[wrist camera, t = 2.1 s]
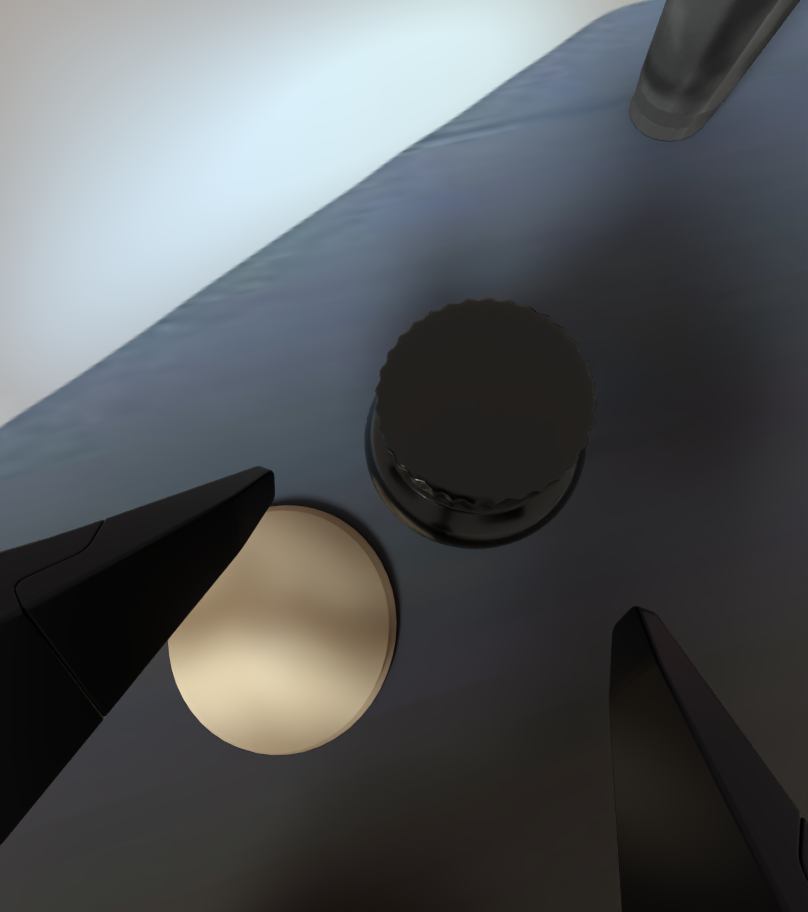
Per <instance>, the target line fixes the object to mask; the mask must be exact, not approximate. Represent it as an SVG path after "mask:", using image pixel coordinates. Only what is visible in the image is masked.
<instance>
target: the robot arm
mask: <svg viewBox="0 0 808 912" xmlns="http://www.w3.org/2000/svg"><path fill="white" fill-rule="evenodd" d="M274 496H275V482H274V473H273V471H271V470H269V469H266V468H264V467H261V466H256V467H253V468H250V469H247V470H244V471H241V472H239V473H236V474H233V475H230V476H227V477H224V478H221V479H218V480H216V481H213V482H210V483H207V484H204V485H201V486H198V487H195V488H192V489H190V490H187V491H184V492H181V493H178V494H175V495H172V496H169V497H167V498H164V499H161V500H158V501H155V502H152V503H149V504H146V505H144V506H141V507H138V508H135V509H132V510H129V511H126V512H123V513H120V514H118V515H115V516H112V517H109V518H106V519H105V521H104V520H100V521H97V522H94V523H91V524H88V525H86V526H83V527H80V528H77V529H74V530H71V531H68V532H65V533H61V534H58V535H55V536H52V537H49V538H46V539H42V540H39V541H36V542H32V543H29V544H25V545H22V546H19V547H15V548H12V549H8V550H5V551H1V552H0V845H1V844H2V843H3V842H4V840H5V839H6V838H7V837H8V836H9V835H10V833H11V832H12V831H13V830H14V828H15V827H16V826H17V825H18V824H19V822H20V821H21V820H22V819H23V817H24V816H25V815H26V814H27V812H28V811H29V810H30V809H31V808H32V806H33V805H34V804H35V803H36V801H37V800H38V799H39V798H40V797H41V795H42V794H43V793H44V792H45V790H46V789H47V788H48V787H49V786H50V784H51V783H52V782H53V781H54V779H55V778H56V777H57V776H58V775H59V773H60V772H61V771H62V770H63V768H64V767H65V766H66V765H67V763H68V762H69V761H70V760H71V759H72V757H73V756H74V755H75V754H76V752H77V751H78V750H79V749H80V748H81V746H82V745H83V744H84V743H85V741H86V740H87V739H88V738H89V737H90V735H91V734H92V733H93V732H94V730H95V729H96V728H97V727H98V726H99V724H100V723H101V722H102V721H103V719H104V716H106V715H107V714H108V713H109V712H110V710H111V709H112V708H113V707H114V706H115V704H116V703H117V702H118V701H119V699H120V698H121V697H122V696H123V694H124V693H125V692H126V691H127V690H128V688H129V687H130V686H131V685H132V683H133V682H134V681H135V680H136V679H137V677H138V676H139V675H140V674H141V672H142V671H143V670H144V669H145V668H146V666H147V665H148V664H149V663H150V661H151V660H152V659H153V658H154V657H155V655H156V654H157V653H158V652H159V650H160V649H161V648H162V647H163V645H164V644H165V643H166V642H167V641H168V639H169V638H170V637H171V636H172V634H173V633H174V632H175V631H176V630H177V628H178V627H179V626H180V625H181V623H182V622H183V621H184V620H185V619H186V617H187V616H188V615H189V614H190V612H191V611H192V610H193V609H194V607H195V606H196V605H197V604H198V603H199V601H200V600H201V599H202V598H203V596H204V595H205V594H206V593H207V592H208V590H209V589H210V588H211V587H212V585H213V584H214V583H215V582H216V581H217V579H218V578H219V577H220V576H221V574H222V573H223V572H224V571H225V570H226V568H227V567H228V566H229V565H230V563H231V562H232V561H233V560H234V558H235V557H236V556H237V555H238V553H239V552H240V551H241V549H242V548H243V547H244V545H245V544H246V542H247V541H248V539H249V538H250V536H251V534H252V533H253V531H254V530H255V528H256V527H257V525H258V524H259V522H260V521H261V519H262V518H263V516H264V514H265V513H266V511H267V510H268V508H269V507H270V505H271V504H272V502H273V500H274ZM609 712H610V729H611V745H612V760H613V776H614V792H615V808H616V824H617V840H618V856H619V872H620V888H621V904H622V912H808V822H807V821H806V820H805V819H804V818H802V817H801V813H800V811H799V810H798V809H797V807H796V806H795V804H794V803H793V802H792V800H791V799H790V798H789V796H788V795H787V793H786V792H785V791H784V789H783V788H782V787H781V785H780V784H779V782H778V781H777V780H776V778H775V777H774V775H773V774H772V773H771V771H770V770H769V769H768V767H767V766H766V764H765V763H764V762H763V760H762V759H761V758H760V756H759V755H758V753H757V752H756V751H755V749H754V748H753V746H752V745H751V744H750V742H749V741H748V740H747V738H746V737H745V735H744V734H743V733H742V731H741V730H740V729H739V727H738V726H737V724H736V723H735V722H734V720H733V719H732V718H731V716H730V715H729V713H728V712H727V711H726V709H725V708H724V706H723V705H722V704H721V702H720V701H719V700H718V698H717V697H716V695H715V694H714V693H713V691H712V690H711V689H710V687H709V686H708V684H707V683H706V682H705V680H704V679H703V678H702V676H701V675H700V673H699V672H698V671H697V669H696V668H695V666H694V665H693V664H692V662H691V661H690V660H689V658H688V657H687V655H686V654H685V653H684V651H683V650H682V649H681V647H680V646H679V644H678V643H677V642H676V640H675V639H674V638H673V636H672V635H671V633H670V632H669V631H668V629H667V628H666V626H665V625H664V624H663V622H662V621H661V620H660V618H659V617H658V616H657V615H656V614H655V613H654V612H652V611H649V610H647V609H644V608H641V607H638V606H634V607H632V608H631V609H630V610H629V611H628V612H627V613H626V614H625V615H624V616H623V617H622V618H621V619H620V620H619V621H618V622H617V623H616V625H615V626H614V629H613V633H612V648H611V668H610V687H609Z"/></svg>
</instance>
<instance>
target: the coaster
mask: <svg viewBox="0 0 808 912" xmlns="http://www.w3.org/2000/svg"><path fill="white" fill-rule="evenodd" d="M396 626H397V620H396V606H395V601H394V595H393V590H392V587H391V584H390V581H389V578H388V575H387V573H386V571H385V569H384V566H383V564H382V562H381V561H380V559H379V557H378V556H377V554H376V553H375V551H374V549H373V548H372V547H371V546H370V545H369V543H368V542H367V541H366V540H365V539H364V537H362V536H361V535H360V534H359V533H358V532H357V531H356V530H355V529H354V528H352V527H351V526H350V525H348V524H347V523H345V522H344V521H342V520H341V519H339V518H337V517H335V516H333V515H331V514H329V513H326V512H323V511H320V510H317V509H313V508H308V507H303V506H291V505H283V506H272V507H269V508H268V510H267V511H266V513H265V514H264V516H263V518H262V519H261V521H260V522H259V524H258V525H257V527H256V528H255V530H254V531H253V533H252V534H251V536H250V538H249V539H248V541H247V542H246V544H245V545H244V547H243V548H242V549H241V551H240V552H239V553H238V555H237V556H236V557H235V558H234V560H233V561H232V562H231V563H230V565H229V566H228V567H227V568H226V570H225V571H224V572H223V573H222V574H221V576H220V577H219V578H218V579H217V581H216V582H215V583H214V584H213V585H212V587H211V588H210V589H209V590H208V592H207V593H206V594H205V595H204V596H203V598H202V599H201V600H200V601H199V603H198V604H197V605H196V606H195V607H194V609H193V610H192V611H191V612H190V614H189V615H188V616H187V617H186V619H185V620H184V621H183V622H182V623H181V625H180V626H179V627H178V628H177V630H176V631H175V632H174V633H173V634H172V636H171V637H170V638H169V639H168V644H169V656H170V661H171V667H172V671H173V674H174V677H175V680H176V684H177V686H178V688H179V690H180V692H181V695H182V697H183V699H184V700H185V702H186V703H187V705H188V707H189V708H190V710H191V711H192V713H193V714H194V715H195V716H196V717H197V718H198V720H199V721H200V722H201V723H202V724H203V725H204V726H205V727H206V728H208V729H209V730H210V731H211V732H212V733H213V734H215V735H216V736H218V737H219V738H221V739H222V740H224V741H226V742H228V743H230V744H232V745H234V746H236V747H239V748H242V749H245V750H249V751H252V752H256V753H262V754H270V755H285V754H294V753H299V752H304V751H307V750H310V749H313V748H316V747H319V746H321V745H323V744H325V743H327V742H329V741H331V740H333V739H335V738H336V737H337V736H339V735H340V734H342V733H343V732H344V731H346V730H347V729H348V728H349V727H351V726H352V725H353V724H354V723H355V722H356V721H357V720H358V719H359V718H360V717H361V716H362V715H363V713H364V712H365V711H366V710H367V708H368V707H369V706H370V705H371V703H372V702H373V700H374V698H375V697H376V695H377V693H378V692H379V690H380V688H381V686H382V684H383V682H384V679H385V677H386V675H387V672H388V669H389V666H390V663H391V660H392V657H393V652H394V646H395V641H396Z"/></svg>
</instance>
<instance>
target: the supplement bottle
mask: <svg viewBox="0 0 808 912" xmlns="http://www.w3.org/2000/svg"><path fill="white" fill-rule="evenodd" d="M594 385H595V381H594V380H593V378H592V376H591V375H590V373H589V362H588V361H587V360H586V359H585V358H584V357H583V356H582V355H581V353H580V348H579V345H578V343H576V342H575V341H574V340H572V339H571V338H569V336H568V334H567V332H566V330H565V328H563V327H561V326H559V325H556V324H554V323H553V321H552V320H551V318H550V317H549V316H548V315H544V314H540V313H537V312H536V311H535V310H534V309H532V308H531V307H530V306H521V305H517V304H515V303H514V302H512V301H510V300H505V301H496V300H494V299H491V298H486V299H482V300H479V301H478V300H474V299H467V300H464V301H462V302H461V303H449V304H447V305H446V306H444V307H443V308H442V309H441V310H435V311H431V312H429V313H428V314H427V315H426V317H425V318H424V319H422V320H419V321H417V322H414V323H413V324H412V326H411V328H410V330H409V331H408V332H406V333H404V334H402V335H401V336H399V339H398V341H397V344H396V346H395V347H394V348H392V349H391V350H390V351H389V352H388V355H387V362H386V363H385V364H384V366H383V367H382V368H381V370H380V382H379V383H378V385H377V387H376V390H375V392H376V395H375V397H374V399H373V402H372V404H371V407H370V410H369V413H368V417H367V422H366V428H365V455H366V461H367V466H368V470H369V473H370V476H371V479H372V481H373V483H374V486H375V488H376V490H377V492H378V493H379V495H380V497H381V498H382V500H383V501H384V503H385V504H386V505H387V507H388V508H389V509H390V510H391V511H392V512H393V514H394V515H395V516H396V517H397V518H399V519H400V520H401V521H402V522H403V523H404V524H405V525H407V526H408V527H409V528H411V529H412V530H414V531H415V532H417V533H418V534H420V535H422V536H424V537H426V538H428V539H430V540H432V541H435V542H438V543H440V544H444V545H448V546H452V547H458V548H467V549H486V548H493V547H499V546H503V545H507V544H510V543H513V542H516V541H519V540H521V539H523V538H525V537H527V536H529V535H531V534H533V533H534V532H536V531H538V530H539V529H541V528H542V527H543V526H545V525H546V524H547V523H549V522H550V521H551V520H552V519H553V518H554V517H555V516H556V515H557V514H558V513H559V512H560V511H561V509H562V508H563V507H564V506H565V504H566V503H567V501H568V500H569V499H570V497H571V495H572V493H573V492H574V490H575V488H576V486H577V483H578V481H579V478H580V476H581V472H582V469H583V465H584V460H585V453H586V446H587V441H588V432H589V431H590V430H591V429H592V427H593V426H594V417H593V411H594V409H595V407H596V404H597V401H596V398H595V396H594V394H593V389H594Z"/></svg>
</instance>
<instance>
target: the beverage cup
mask: <svg viewBox="0 0 808 912" xmlns="http://www.w3.org/2000/svg"><path fill="white" fill-rule="evenodd" d="M799 1H800V0H667V1H666V3H665V6H664V9H663V12H662V14H661V17H660V20H659V23H658V26H657V28H656V31H655V34H654V37H653V39H652V42H651V45H650V48H649V50H648V53H647V56H646V59H645V61H644V64H643V67H642V70H641V74H640V78H639V82H638V85H637V88H636V92H635V94H634V96H633V99H632V101H631V105H630V109H629V111H630V117H631V120H632V122H633V123H634V125H635V127H636V128H637V129H638V130H640V131H641V132H642V133H643V134H645V135H647V136H649V137H651V138H654V139H657V140H664V141H675V140H682V139H685V138H687V137H690V136H693V135H694V134H695V133H697V132H698V131H699V130H701V129H702V127H703V126H704V124H705V123H706V121H707V120H708V118H709V117H710V116H711V115H712V114H713V113H714V112H715V110H716V109H717V108H718V106H719V105H720V104H721V103H722V102H724V100H725V99H726V98H727V96H728V95H729V94H730V92H731V91H732V90H733V88H734V87H735V86H736V85H737V83H738V82H739V81H740V79H741V78H742V77H743V75H744V74H745V73H746V71H747V70H748V69H749V67H750V66H751V65H752V63H753V62H754V61H755V59H756V58H757V57H758V55H759V54H760V53H761V51H762V50H763V49H764V47H765V46H766V45H767V43H768V42H769V41H770V39H771V38H772V37H773V36H774V34H775V33H776V32H777V30H778V29H779V28H780V26H781V25H782V24H783V22H784V21H785V20H786V18H787V17H788V16H789V14H790V13H791V12H792V10H793V9H794V8H795V6H796V5H797V4H798V2H799Z"/></svg>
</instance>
